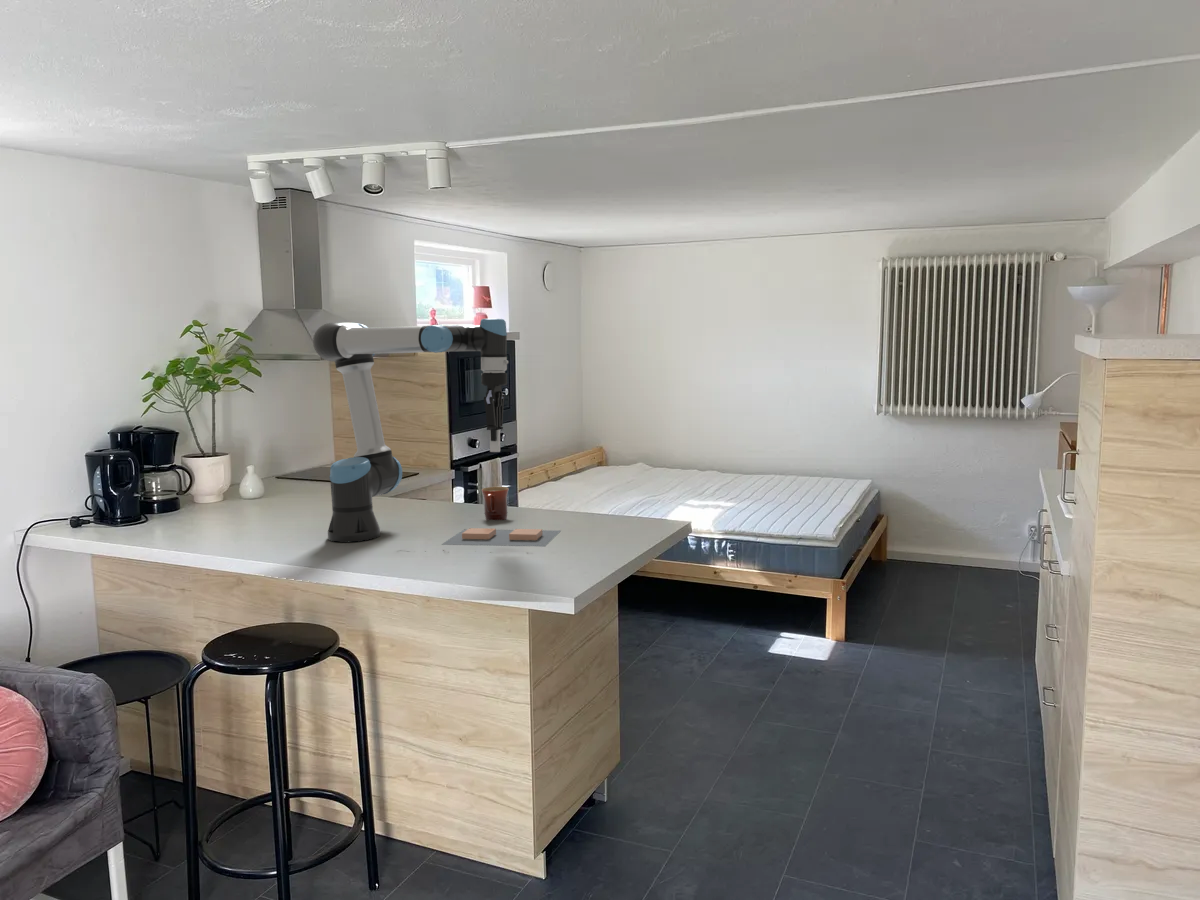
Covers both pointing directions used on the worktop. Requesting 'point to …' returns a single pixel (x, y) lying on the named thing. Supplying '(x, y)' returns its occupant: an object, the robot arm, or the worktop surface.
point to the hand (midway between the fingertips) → (495, 451)
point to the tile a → (478, 533)
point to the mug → (495, 503)
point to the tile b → (525, 534)
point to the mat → (503, 539)
